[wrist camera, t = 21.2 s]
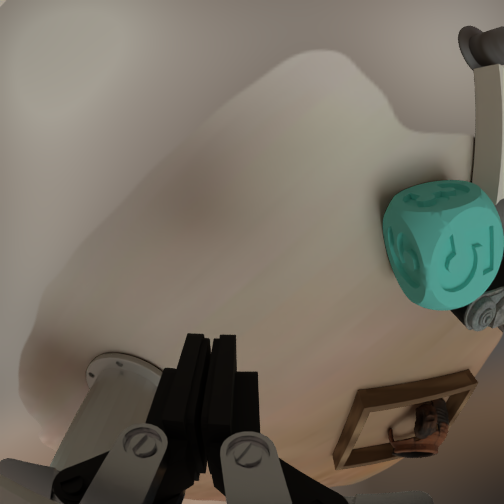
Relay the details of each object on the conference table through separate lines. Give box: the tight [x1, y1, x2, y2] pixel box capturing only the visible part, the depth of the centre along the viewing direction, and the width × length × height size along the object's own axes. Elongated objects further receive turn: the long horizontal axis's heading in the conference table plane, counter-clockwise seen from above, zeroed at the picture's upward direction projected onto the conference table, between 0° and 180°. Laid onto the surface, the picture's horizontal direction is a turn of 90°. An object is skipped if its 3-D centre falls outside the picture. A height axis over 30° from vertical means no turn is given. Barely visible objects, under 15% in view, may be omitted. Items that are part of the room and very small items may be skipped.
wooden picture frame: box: [333, 370, 478, 470], centre depth 32 cm, size 16×18×3 cm
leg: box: [472, 64, 504, 235], centre depth 18 cm, size 16×4×4 cm, turn 179°
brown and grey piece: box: [458, 26, 504, 71], centre depth 16 cm, size 15×7×5 cm, turn 0°
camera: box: [451, 250, 504, 333], centre depth 21 cm, size 15×7×10 cm, turn 99°
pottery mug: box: [389, 399, 449, 458], centre depth 31 cm, size 12×10×8 cm
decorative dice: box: [383, 180, 504, 310], centre depth 20 cm, size 8×8×8 cm
